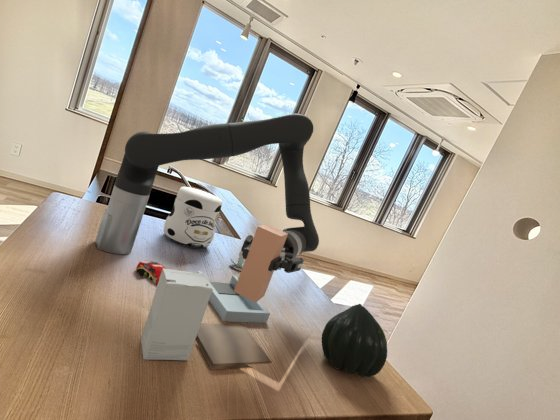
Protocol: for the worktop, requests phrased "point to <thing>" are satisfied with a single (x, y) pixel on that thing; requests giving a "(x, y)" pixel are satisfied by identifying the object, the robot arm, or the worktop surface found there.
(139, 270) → the race car
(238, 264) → the pacifier
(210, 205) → the milk container
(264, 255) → the terracotta block
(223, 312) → the grey channel
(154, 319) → the skincare box
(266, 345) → the worktop surface
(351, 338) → the squash
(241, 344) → the walnut board
